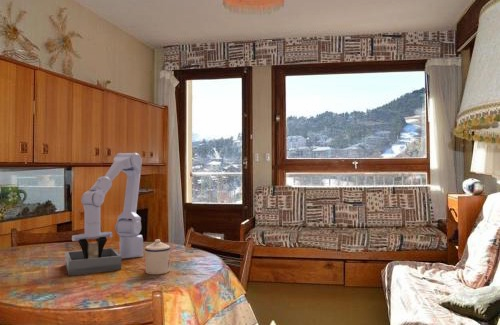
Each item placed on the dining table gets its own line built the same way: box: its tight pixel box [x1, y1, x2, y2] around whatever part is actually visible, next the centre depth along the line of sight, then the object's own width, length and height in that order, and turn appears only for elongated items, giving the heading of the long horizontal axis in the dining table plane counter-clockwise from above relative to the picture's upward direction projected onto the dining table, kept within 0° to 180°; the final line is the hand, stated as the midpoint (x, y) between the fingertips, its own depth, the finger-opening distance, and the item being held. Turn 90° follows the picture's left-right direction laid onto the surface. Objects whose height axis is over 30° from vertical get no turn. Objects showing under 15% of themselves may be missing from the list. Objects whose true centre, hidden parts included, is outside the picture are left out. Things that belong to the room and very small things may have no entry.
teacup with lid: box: [144, 238, 171, 275], centre depth 154 cm, size 12×9×12 cm
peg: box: [87, 241, 99, 259], centre depth 160 cm, size 4×4×8 cm
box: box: [64, 247, 122, 276], centre depth 160 cm, size 18×18×5 cm
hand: (92, 258), depth 160 cm, fingers closed on peg, 4 cm apart
